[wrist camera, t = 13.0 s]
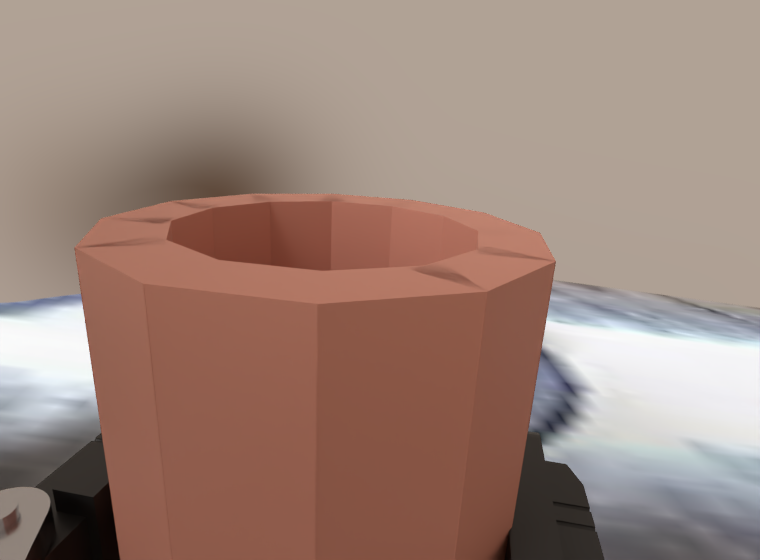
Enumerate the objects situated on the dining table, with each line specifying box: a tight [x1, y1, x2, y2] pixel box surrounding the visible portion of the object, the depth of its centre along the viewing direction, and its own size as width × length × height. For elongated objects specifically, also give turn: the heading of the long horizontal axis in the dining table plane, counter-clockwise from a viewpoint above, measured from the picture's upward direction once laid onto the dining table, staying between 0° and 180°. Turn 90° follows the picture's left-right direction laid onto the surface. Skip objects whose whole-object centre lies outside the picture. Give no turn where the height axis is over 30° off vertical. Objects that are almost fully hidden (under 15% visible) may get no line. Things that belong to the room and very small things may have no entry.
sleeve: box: [75, 194, 556, 560], centre depth 9 cm, size 6×6×12 cm
